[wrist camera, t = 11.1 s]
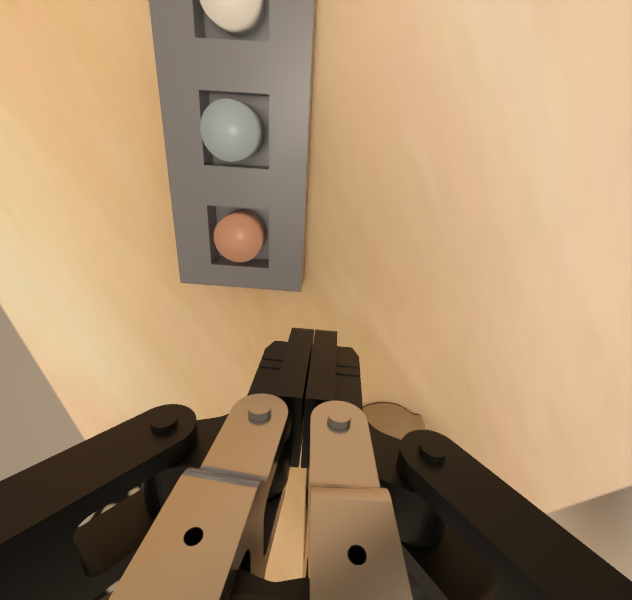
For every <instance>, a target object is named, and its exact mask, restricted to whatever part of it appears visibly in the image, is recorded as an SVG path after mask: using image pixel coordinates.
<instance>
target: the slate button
mask: <svg viewBox="0 0 632 600" xmlns="http://www.w3.org/2000/svg"><path fill="white" fill-rule="evenodd" d="M200 131H201V136H202V139H203V142H204V144H205V146H206V147H207V149H208V150H209V151H210V152H211V153H212V154H213V155H214V156H216V157H217V158H219V159H221V160H224V161H229V162H234V161H239V160H242V159H245V158H249V157H251V156H252V155H254V154H255V153H256V152H257V151H258V150H259V148H260V147H261V145H262V142H263V138H264V128H263V123H262V121H261V118H260V116H259V115H258V113H257V112H256V111H255V110H254V109H253V108H252V107H251V106H249V105H247V104H245V103H242V102H239V101H235V100H232V99H219V100H216V101H214V102H212V103H211V104H210V105H209V106H208V107H207V108H206V109H205V111H204V113H203V115H202V118H201V123H200Z"/></svg>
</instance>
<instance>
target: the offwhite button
mask: <svg viewBox="0 0 632 600" xmlns="http://www.w3.org/2000/svg"><path fill="white" fill-rule="evenodd" d="M200 3H201V5H202V8H203V9H204V11H205V13H206V14H207V15H208V17H209V18H210V19H211V20H212V21H214V22H215V23H216V24H217V25H218V26H219V27H220V28H222V29H223V30H224V31H225V32H226V33H228V34H230V35H232V36H234V37H247V36H250V35H252V34H254V33H255V32H256V31H257V30H258V29H259V28H260V27H261V25H262V23H263V21H264V19H265V15H266V10H267V0H200Z"/></svg>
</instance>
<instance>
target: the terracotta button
mask: <svg viewBox="0 0 632 600" xmlns="http://www.w3.org/2000/svg"><path fill="white" fill-rule="evenodd" d="M266 238H267V228H266V224H265V222H264V221H263V219H262V218H261V217H260V216H259V215H258V214H257V213H256V212H254V211H252V210H249V209H237V210H235V211H233V212H231V213H230V214H228V215H227V216H226V217H225V218H223V219H222V220H221V221H220V222H219V223H218V224H217V226H216V228H215V230H214V242H215V245H216V248H217V249H218V251H219V252H220V253H221V254H222V255H223V256H224V257H225V258H227V259H229V260H231V261H234V262H246V261H249V260H251V259H253V258H254V257H255V256H256V255H257V254H258V252H259V251H260V249H261V248H262V246H263V244H264V243H265V241H266Z"/></svg>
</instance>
